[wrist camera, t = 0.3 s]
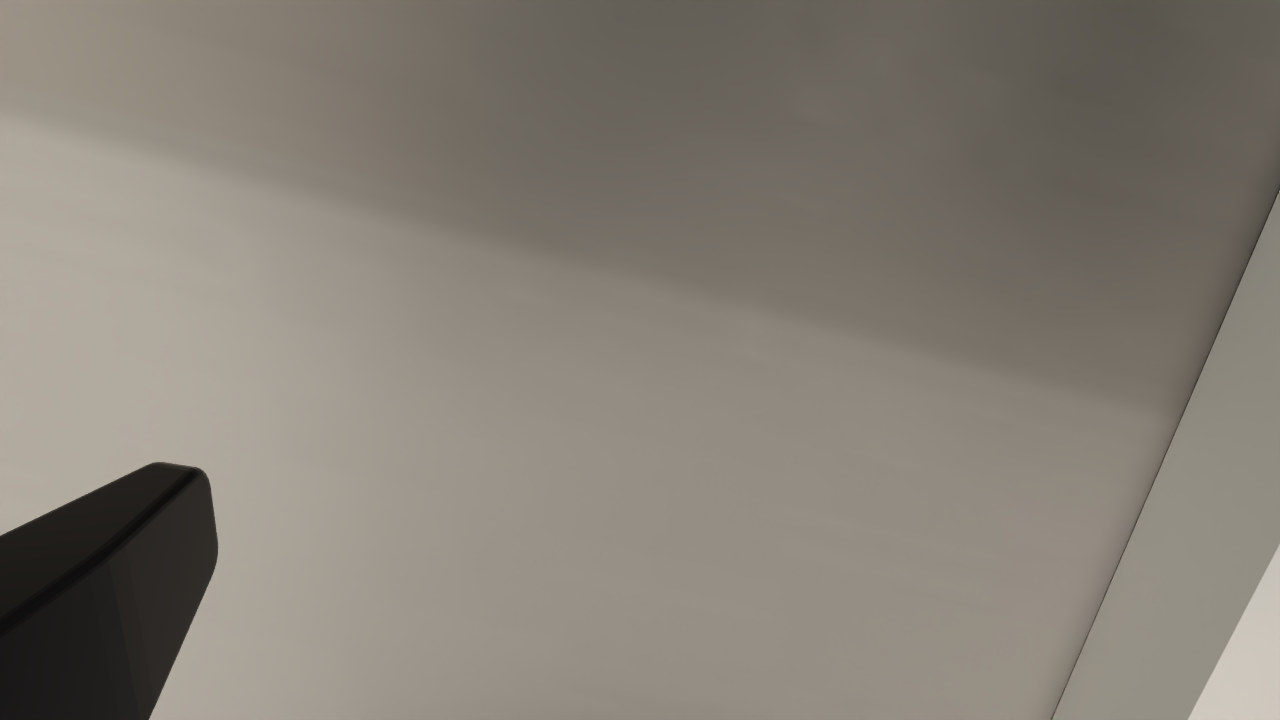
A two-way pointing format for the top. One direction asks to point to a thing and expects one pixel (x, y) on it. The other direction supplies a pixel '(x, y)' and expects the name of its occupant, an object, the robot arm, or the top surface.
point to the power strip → (1203, 543)
